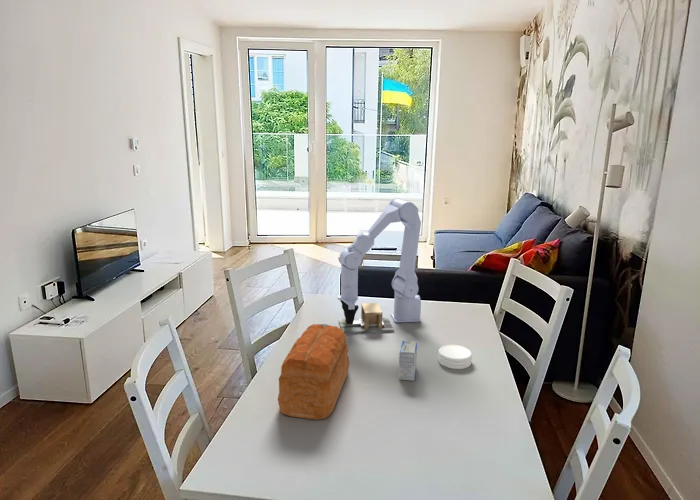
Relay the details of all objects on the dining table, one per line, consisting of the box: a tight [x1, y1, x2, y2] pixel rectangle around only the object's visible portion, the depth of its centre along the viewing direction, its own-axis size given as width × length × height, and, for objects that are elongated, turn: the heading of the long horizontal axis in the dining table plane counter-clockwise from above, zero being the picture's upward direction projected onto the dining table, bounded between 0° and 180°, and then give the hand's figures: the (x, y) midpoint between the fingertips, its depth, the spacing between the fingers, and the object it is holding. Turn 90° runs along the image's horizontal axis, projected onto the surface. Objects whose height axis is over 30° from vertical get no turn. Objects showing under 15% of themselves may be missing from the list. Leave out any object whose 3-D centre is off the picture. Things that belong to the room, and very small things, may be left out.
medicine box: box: [398, 339, 418, 382], centre depth 138 cm, size 8×4×9 cm, turn 168°
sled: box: [344, 313, 384, 327], centre depth 170 cm, size 13×6×5 cm, turn 97°
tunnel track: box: [338, 302, 395, 335], centre depth 170 cm, size 18×11×7 cm, turn 97°
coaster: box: [437, 344, 473, 370], centre depth 146 cm, size 10×10×4 cm
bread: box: [277, 323, 350, 421], centre depth 128 cm, size 14×27×15 cm, turn 169°
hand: (348, 321), depth 169 cm, fingers open, 4 cm apart
